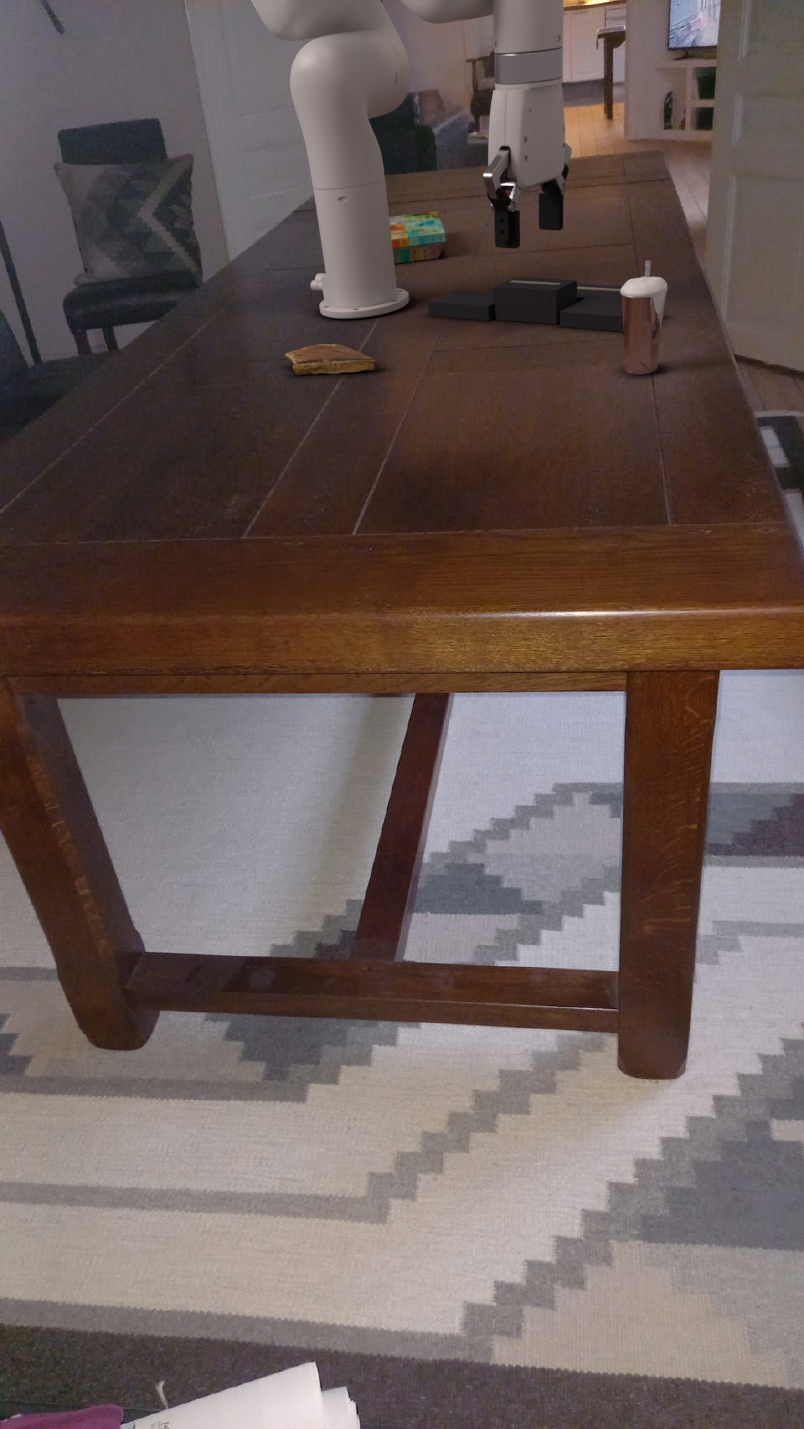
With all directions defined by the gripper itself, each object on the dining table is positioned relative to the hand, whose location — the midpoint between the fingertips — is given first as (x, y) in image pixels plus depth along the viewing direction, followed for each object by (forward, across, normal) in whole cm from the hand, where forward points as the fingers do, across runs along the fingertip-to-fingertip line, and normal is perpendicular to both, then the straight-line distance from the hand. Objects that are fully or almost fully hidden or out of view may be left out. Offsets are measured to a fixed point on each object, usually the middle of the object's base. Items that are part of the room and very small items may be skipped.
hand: (529, 238), depth 119 cm
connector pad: (+9, 0, +1) cm, 9 cm away
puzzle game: (+11, -30, -43) cm, 54 cm away
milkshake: (+9, +15, +23) cm, 28 cm away
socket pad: (+9, -3, +1) cm, 10 cm away
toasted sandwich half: (+10, +24, -12) cm, 28 cm away
